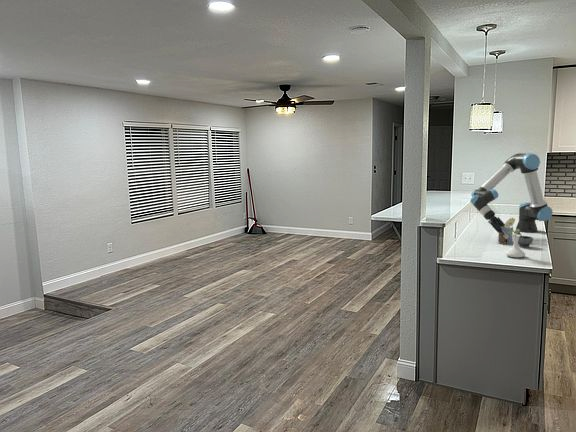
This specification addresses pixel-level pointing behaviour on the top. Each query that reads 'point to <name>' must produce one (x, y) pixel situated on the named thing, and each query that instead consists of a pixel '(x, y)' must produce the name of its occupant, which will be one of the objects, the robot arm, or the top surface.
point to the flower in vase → (515, 250)
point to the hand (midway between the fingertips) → (509, 237)
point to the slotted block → (506, 230)
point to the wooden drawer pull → (502, 239)
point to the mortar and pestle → (524, 241)
